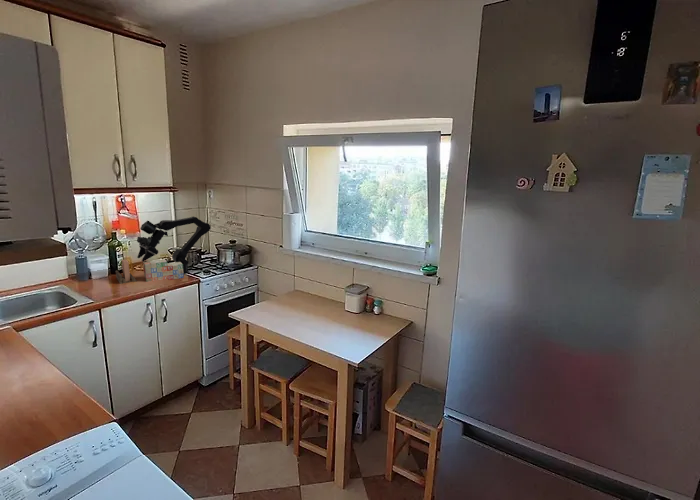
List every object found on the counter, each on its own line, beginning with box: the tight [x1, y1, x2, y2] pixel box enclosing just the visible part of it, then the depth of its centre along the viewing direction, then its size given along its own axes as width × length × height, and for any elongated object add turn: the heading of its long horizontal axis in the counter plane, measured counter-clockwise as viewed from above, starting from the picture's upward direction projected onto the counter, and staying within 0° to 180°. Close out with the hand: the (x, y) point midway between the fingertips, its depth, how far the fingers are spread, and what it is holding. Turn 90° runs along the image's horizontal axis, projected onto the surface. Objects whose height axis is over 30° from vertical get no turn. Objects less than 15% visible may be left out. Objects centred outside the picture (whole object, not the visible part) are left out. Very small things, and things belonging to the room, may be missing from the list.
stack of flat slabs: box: [115, 270, 138, 285], centre depth 226 cm, size 9×12×6 cm
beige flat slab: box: [121, 259, 131, 281], centre depth 225 cm, size 2×6×12 cm, turn 41°
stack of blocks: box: [142, 258, 185, 283], centre depth 233 cm, size 21×6×12 cm, turn 128°
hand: (140, 259), depth 228 cm, fingers open, 9 cm apart
